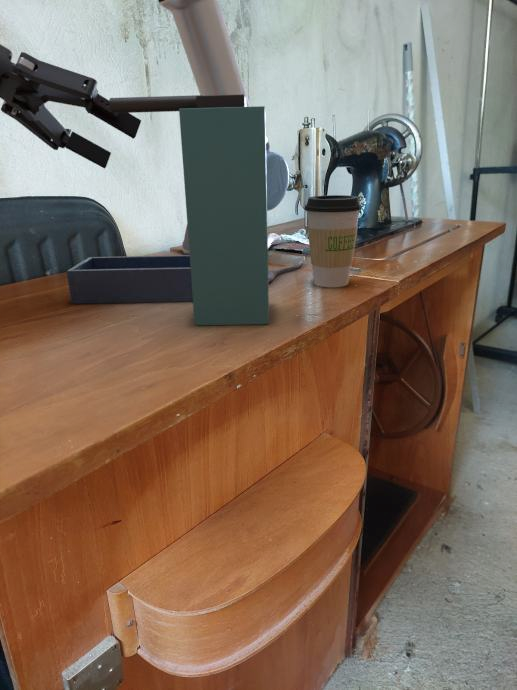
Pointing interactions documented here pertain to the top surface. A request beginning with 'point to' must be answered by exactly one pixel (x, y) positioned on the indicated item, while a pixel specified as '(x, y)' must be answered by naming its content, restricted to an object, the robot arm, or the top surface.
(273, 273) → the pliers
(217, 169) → the teal stand
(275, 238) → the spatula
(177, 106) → the black spatula
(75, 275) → the tray
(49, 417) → the top surface
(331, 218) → the coffee cup
